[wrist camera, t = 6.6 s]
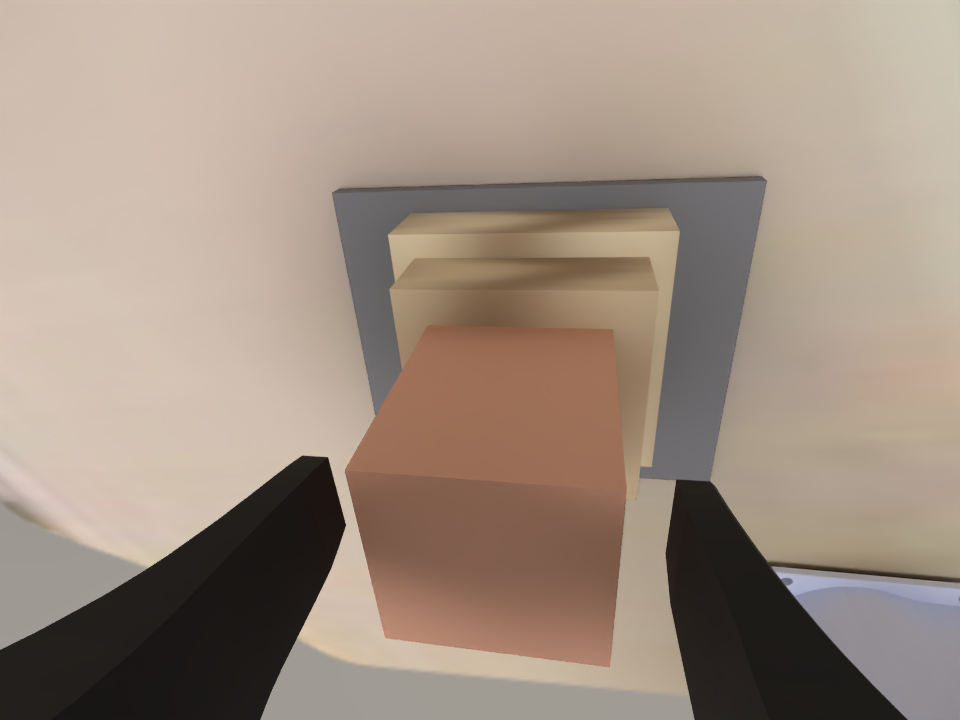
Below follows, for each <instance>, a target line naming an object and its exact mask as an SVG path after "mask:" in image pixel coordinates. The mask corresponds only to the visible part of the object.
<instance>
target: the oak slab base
mask: <svg viewBox="0 0 960 720" xmlns="http://www.w3.org/2000/svg"><path fill="white" fill-rule="evenodd" d="M679 234H680V230H679V228H678V226H677V224H676V222H675V220H674V218H673V216H672V214H671V212H670V210H669V208H638V209H589V210H541V211H492V212H444V213H410V214H409V215H408V216H407V217H406V218H405V219H404V220H403V221H402V222H401V223H400V224H399V225H398V226H397V227H396V228H395V229H394V230H393V231H392V232H391V233H389V234H388V238H389V245H390V251H391V258H392V265H393V271H394V278H395V282H396V281H397V279H398V278H399V277H400V276H401V274H402V273H403V272H404V271H405V270H406V268H407V267H408V266H409V265H410V263H411V262H412V261H413V260H414V258H581V257H649V258H650V261H651V265H652V268H653V272H654V275H655V279H656V282H657V286H658V289H659V296H658V305H657V315H656V324H655V333H654V343H653V352H652V362H651V371H650V381H649V390H648V400H647V409H646V419H645V428H644V437H643V447H642V456H641V466H644V467H652V461H653V452H654V444H655V436H656V427H657V419H658V410H659V402H660V394H661V385H662V377H663V369H664V360H665V352H666V343H667V335H668V327H669V318H670V310H671V301H672V293H673V285H674V276H675V268H676V260H677V251H678V243H679Z"/></svg>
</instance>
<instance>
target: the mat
mask: <svg viewBox="0 0 960 720" xmlns="http://www.w3.org/2000/svg"><path fill="white" fill-rule="evenodd" d="M766 183H767V181H766V180H765V179H764V178H763V177H733V178H699V179H665V180H631V181H598V182H564V183H530V184H497V185H463V186H429V187H396V188H362V189H338V190H337V191H335V192H333V193H332V195H333V201H334V206H335V211H336V216H337V221H338V226H339V231H340V236H341V241H342V247H343V252H344V257H345V262H346V267H347V272H348V277H349V282H350V287H351V293H352V298H353V303H354V308H355V313H356V318H357V323H358V328H359V333H360V339H361V344H362V349H363V354H364V359H365V364H366V369H367V374H368V379H369V385H370V390H371V395H372V400H373V405H374V410H375V415H377V413H378V411H379V410H380V408H381V406H382V404H383V403H384V401H385V399H386V397H387V396H388V394H389V392H390V390H391V389H392V387H393V385H394V383H395V382H396V380H397V378H398V376H399V375H400V373H401V371H402V366H401V360H400V354H399V347H398V341H397V335H396V328H395V322H394V316H393V309H392V303H391V297H390V290H389V289H390V288H391V287H392V286H393V284H394V283H395V278H394V271H393V265H392V258H391V251H390V245H389V238H388V234H389V233H391V232H392V231H393V230H394V229H395V228H396V227H397V226H398V225H399V224H400V223H401V222H402V221H403V220H404V219H405V218H406V217H407V216H408V215H409V214H410V213H444V212H492V211H541V210H589V209H638V208H669V210H670V212H671V214H672V216H673V218H674V220H675V222H676V224H677V226H678V228H679V230H680V234H679V243H678V251H677V260H676V268H675V276H674V285H673V293H672V301H671V310H670V318H669V327H668V335H667V343H666V352H665V360H664V369H663V377H662V385H661V394H660V402H659V410H658V419H657V427H656V436H655V444H654V452H653V461H652V467H644V466H640V475H639V478H650V479H665V480H677V479H680V480H696V481H710V476H711V471H712V466H713V460H714V455H715V450H716V445H717V439H718V434H719V429H720V424H721V419H722V413H723V408H724V403H725V398H726V392H727V387H728V382H729V377H730V371H731V366H732V361H733V356H734V350H735V345H736V340H737V335H738V329H739V324H740V319H741V314H742V308H743V303H744V298H745V293H746V288H747V282H748V277H749V272H750V267H751V261H752V256H753V251H754V246H755V240H756V235H757V230H758V225H759V219H760V214H761V209H762V204H763V198H764V193H765V188H766Z"/></svg>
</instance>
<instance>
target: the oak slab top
mask: <svg viewBox="0 0 960 720" xmlns="http://www.w3.org/2000/svg"><path fill="white" fill-rule="evenodd" d="M389 290H390V297H391V303H392V309H393V316H394V322H395V328H396V335H397V341H398V347H399V354H400V360H401V366H402V369H403V368H404V366H405V364H406V362H407V361H408V359H409V357H410V355H411V354H412V352H413V350H414V348H415V347H416V345H417V343H418V341H419V340H420V338H421V336H422V334H423V333H424V331H425V329H426V327H427V326H428V325H436V326H484V327H533V328H581V329H613V336H614V348H615V359H616V371H617V382H618V394H619V406H620V417H621V429H622V441H623V452H624V464H625V476H626V487H627V494H626V499H627V500H637V494H638V485H639V475H640V466H641V456H642V447H643V437H644V428H645V419H646V409H647V400H648V390H649V381H650V371H651V362H652V352H653V343H654V333H655V324H656V315H657V305H658V296H659V289H658V286H657V282H656V279H655V275H654V272H653V268H652V265H651V261H650V258H649V257H581V258H414V260H413V261H412V262H411V263H410V265H409V266H408V267H407V268H406V270H405V271H404V272H403V273H402V274H401V276H400V277H399V278H398V279H397V281H396V282H395V283H394V284H393V286H392V287H391V288H390V289H389Z"/></svg>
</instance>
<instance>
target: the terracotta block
mask: <svg viewBox="0 0 960 720" xmlns="http://www.w3.org/2000/svg"><path fill="white" fill-rule="evenodd" d="M345 474H346V478H347V482H348V486H349V490H350V494H351V498H352V503H353V507H354V511H355V515H356V519H357V523H358V527H359V532H360V536H361V540H362V544H363V548H364V552H365V556H366V560H367V565H368V569H369V573H370V577H371V581H372V585H373V589H374V594H375V598H376V602H377V606H378V610H379V614H380V618H381V622H382V627H383V631H384V635H385V638H388V639H396V640H404V641H411V642H419V643H427V644H434V645H442V646H450V647H458V648H465V649H473V650H481V651H489V652H496V653H504V654H512V655H519V656H527V657H535V658H543V659H550V660H558V661H566V662H574V663H581V664H589V665H597V666H604V667H610V660H611V650H612V640H613V629H614V619H615V608H616V598H617V588H618V577H619V567H620V556H621V546H622V535H623V525H624V515H625V504H626V494H627V487H626V476H625V464H624V452H623V441H622V429H621V417H620V406H619V394H618V382H617V371H616V359H615V348H614V336H613V329H581V328H533V327H484V326H436V325H428V326H427V327H426V329H425V331H424V333H423V334H422V336H421V338H420V340H419V341H418V343H417V345H416V347H415V348H414V350H413V352H412V354H411V355H410V357H409V359H408V361H407V362H406V364H405V366H404V368H403V369H402V371H401V373H400V375H399V376H398V378H397V380H396V382H395V383H394V385H393V387H392V389H391V390H390V392H389V394H388V396H387V397H386V399H385V401H384V403H383V404H382V406H381V408H380V410H379V411H378V413H377V415H376V417H375V418H374V420H373V422H372V424H371V425H370V427H369V429H368V431H367V432H366V434H365V436H364V437H363V439H362V441H361V443H360V444H359V446H358V448H357V450H356V451H355V453H354V455H353V457H352V458H351V460H350V462H349V464H348V465H347V467H346V469H345Z"/></svg>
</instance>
